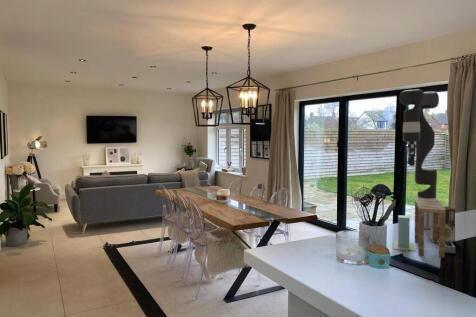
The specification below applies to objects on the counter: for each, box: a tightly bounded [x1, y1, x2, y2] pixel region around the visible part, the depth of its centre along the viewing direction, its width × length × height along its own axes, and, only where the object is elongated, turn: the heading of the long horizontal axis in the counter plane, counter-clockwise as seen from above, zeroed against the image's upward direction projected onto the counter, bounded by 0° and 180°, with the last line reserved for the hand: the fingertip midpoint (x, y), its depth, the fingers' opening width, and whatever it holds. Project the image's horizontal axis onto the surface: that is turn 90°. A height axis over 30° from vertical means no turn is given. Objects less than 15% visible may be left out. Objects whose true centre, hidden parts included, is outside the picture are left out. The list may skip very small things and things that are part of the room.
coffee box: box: [430, 205, 456, 242], centre depth 179 cm, size 9×6×16 cm
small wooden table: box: [414, 198, 446, 258], centre depth 166 cm, size 23×10×21 cm, turn 158°
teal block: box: [397, 214, 410, 247], centre depth 170 cm, size 5×5×14 cm
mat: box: [392, 240, 416, 252], centre depth 171 cm, size 12×9×1 cm
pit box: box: [445, 241, 456, 255], centre depth 164 cm, size 9×4×3 cm, turn 158°
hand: (411, 164), depth 175 cm, fingers open, 8 cm apart
